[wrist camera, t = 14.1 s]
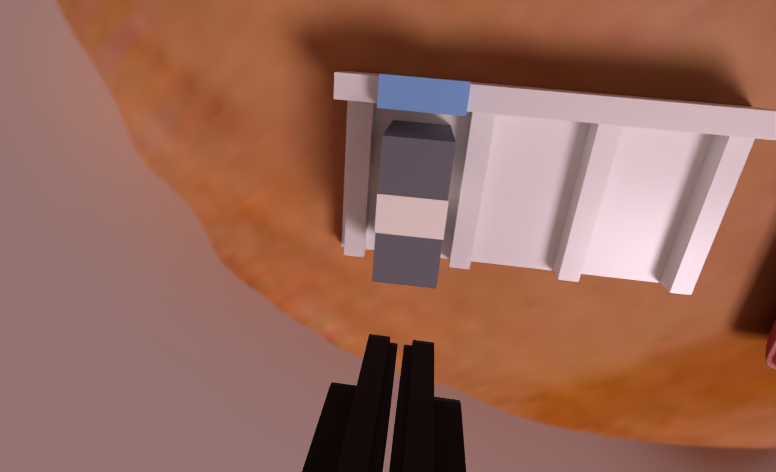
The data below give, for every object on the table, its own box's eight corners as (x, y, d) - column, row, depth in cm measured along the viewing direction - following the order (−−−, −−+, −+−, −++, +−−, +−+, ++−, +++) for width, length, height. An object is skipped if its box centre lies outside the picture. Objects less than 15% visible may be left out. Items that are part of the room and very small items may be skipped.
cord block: (392, 120, 29) (381, 135, 23) (451, 125, 29) (456, 142, 23) (383, 238, 33) (371, 281, 26) (436, 244, 33) (436, 288, 26)
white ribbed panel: (350, 68, 29) (329, 69, 23) (753, 104, 27) (838, 114, 22) (342, 243, 34) (324, 280, 28) (683, 282, 32) (737, 329, 27)
